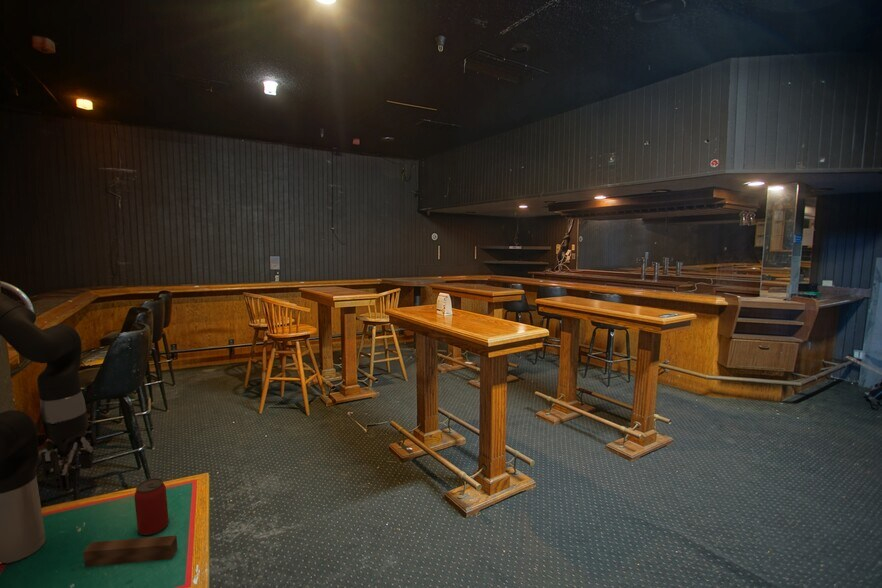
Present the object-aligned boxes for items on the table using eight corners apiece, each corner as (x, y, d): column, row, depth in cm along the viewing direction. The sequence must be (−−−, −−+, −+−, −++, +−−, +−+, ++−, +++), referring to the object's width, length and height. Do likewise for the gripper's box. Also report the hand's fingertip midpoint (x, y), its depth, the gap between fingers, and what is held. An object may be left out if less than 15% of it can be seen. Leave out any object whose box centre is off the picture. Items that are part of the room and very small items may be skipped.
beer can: (153, 538, 105) (149, 494, 103) (131, 534, 106) (126, 490, 104) (175, 520, 112) (171, 478, 110) (153, 516, 113) (149, 475, 111)
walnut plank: (85, 567, 97) (83, 552, 96) (93, 557, 99) (91, 542, 99) (171, 560, 99) (170, 544, 99) (177, 550, 102) (176, 535, 102)
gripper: (67, 401, 104) (77, 463, 106) (20, 429, 90) (34, 499, 93) (101, 399, 105) (111, 460, 108) (61, 426, 91) (73, 495, 94)
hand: (75, 478), depth 100 cm, fingers open, 8 cm apart
